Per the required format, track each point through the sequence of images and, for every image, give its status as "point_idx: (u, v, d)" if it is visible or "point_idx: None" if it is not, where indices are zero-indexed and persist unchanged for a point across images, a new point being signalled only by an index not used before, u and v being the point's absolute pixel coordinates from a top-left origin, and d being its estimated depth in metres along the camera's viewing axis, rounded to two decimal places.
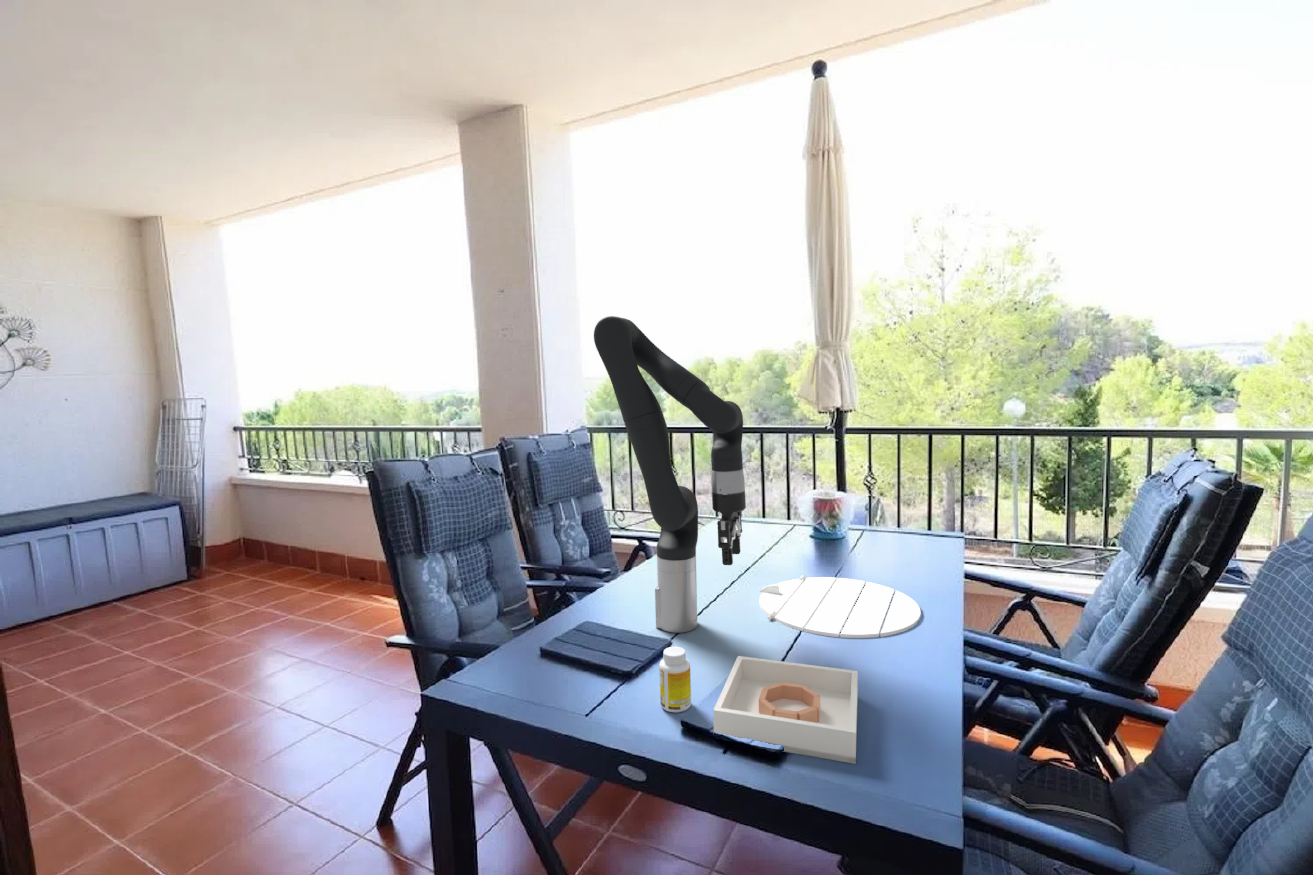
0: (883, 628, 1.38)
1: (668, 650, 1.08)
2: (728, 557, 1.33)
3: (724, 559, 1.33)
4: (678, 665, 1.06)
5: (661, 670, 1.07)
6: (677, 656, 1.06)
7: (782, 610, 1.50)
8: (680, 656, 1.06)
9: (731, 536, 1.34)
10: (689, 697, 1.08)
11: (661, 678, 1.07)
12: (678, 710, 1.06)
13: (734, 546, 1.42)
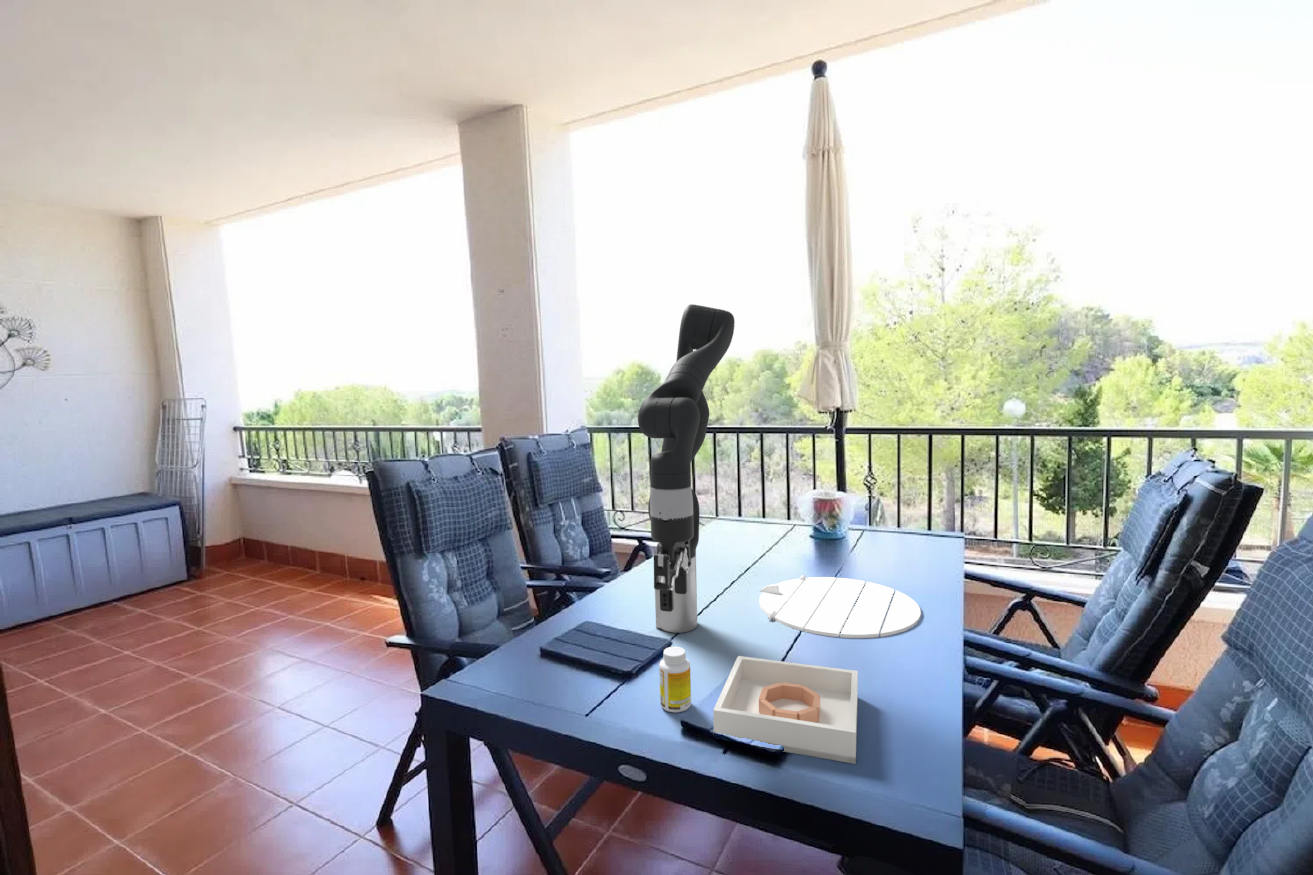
0: (883, 628, 1.38)
1: (668, 650, 1.08)
2: (667, 601, 1.02)
3: (662, 604, 1.02)
4: (678, 665, 1.06)
5: (661, 670, 1.07)
6: (677, 656, 1.06)
7: (782, 610, 1.50)
8: (680, 656, 1.06)
9: (672, 574, 1.02)
10: (689, 697, 1.08)
11: (661, 678, 1.07)
12: (678, 710, 1.06)
13: (680, 584, 1.11)
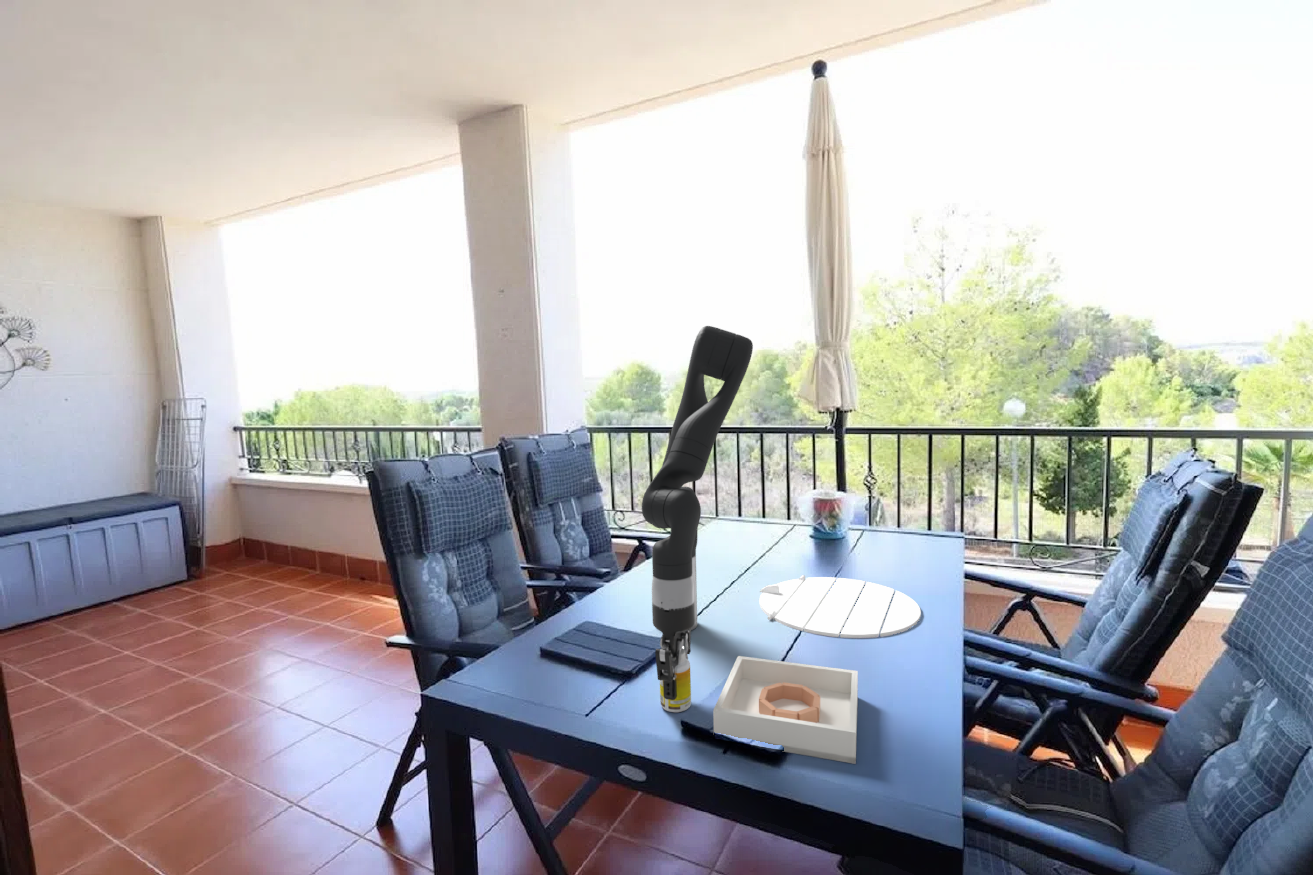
0: (883, 628, 1.38)
1: None
2: (670, 691, 1.04)
3: (665, 692, 1.05)
4: None
5: None
6: None
7: (782, 610, 1.50)
8: None
9: (675, 664, 1.05)
10: (689, 697, 1.08)
11: None
12: (678, 710, 1.06)
13: None
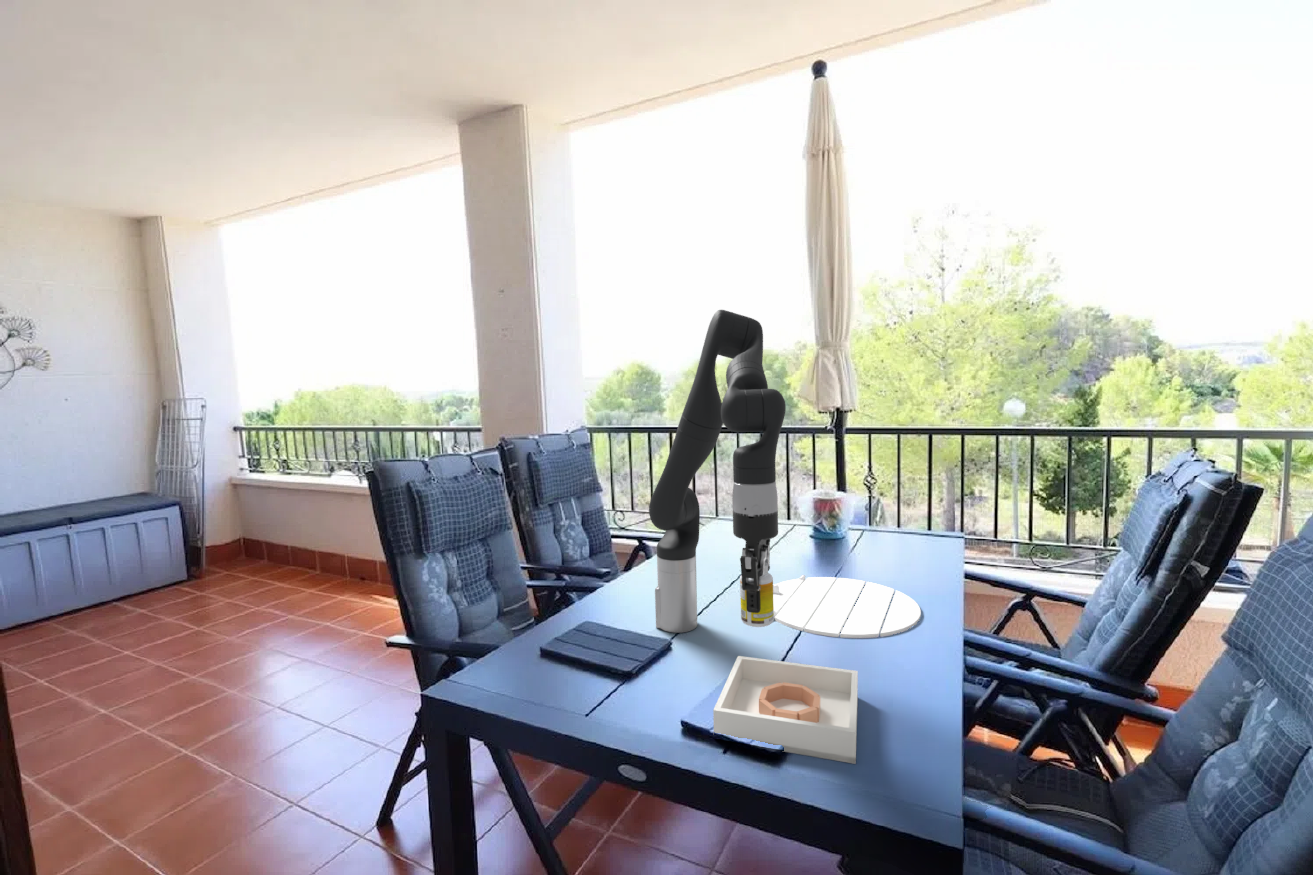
0: (883, 628, 1.38)
1: None
2: (755, 602, 0.99)
3: (749, 605, 1.00)
4: (761, 577, 1.01)
5: None
6: None
7: (782, 610, 1.50)
8: None
9: (759, 574, 0.99)
10: (772, 612, 1.02)
11: (743, 591, 1.02)
12: (762, 624, 1.01)
13: None
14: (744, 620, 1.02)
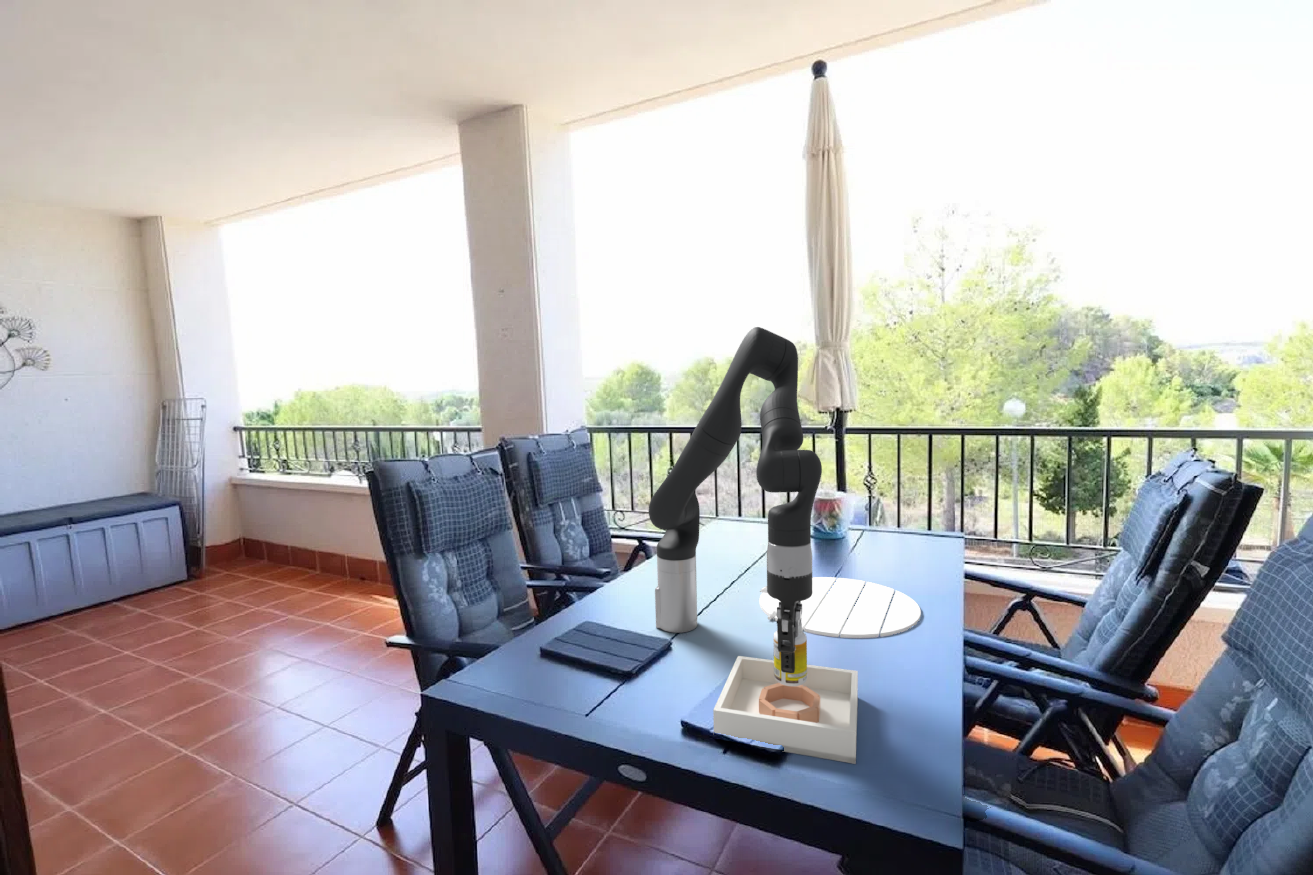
0: (883, 628, 1.38)
1: None
2: (790, 663, 0.99)
3: (784, 665, 1.00)
4: (796, 637, 1.01)
5: (777, 642, 1.02)
6: None
7: None
8: None
9: (794, 635, 0.99)
10: (806, 670, 1.02)
11: (777, 650, 1.02)
12: (796, 684, 1.01)
13: None
14: (778, 679, 1.02)
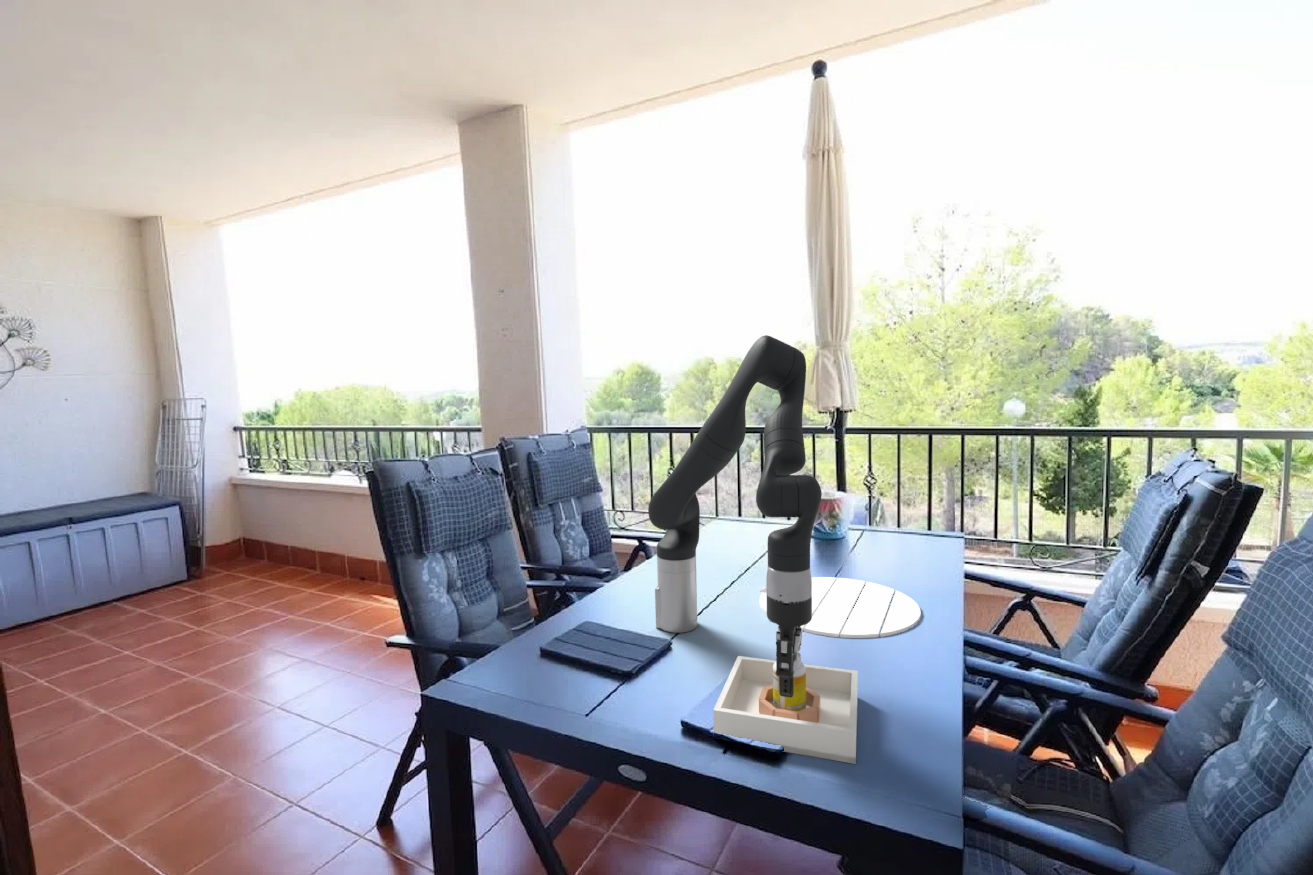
0: (883, 628, 1.38)
1: None
2: (788, 687, 0.98)
3: (782, 689, 0.99)
4: (795, 669, 1.02)
5: None
6: None
7: None
8: None
9: (793, 659, 0.99)
10: (805, 702, 1.03)
11: (776, 682, 1.03)
12: None
13: None
14: None
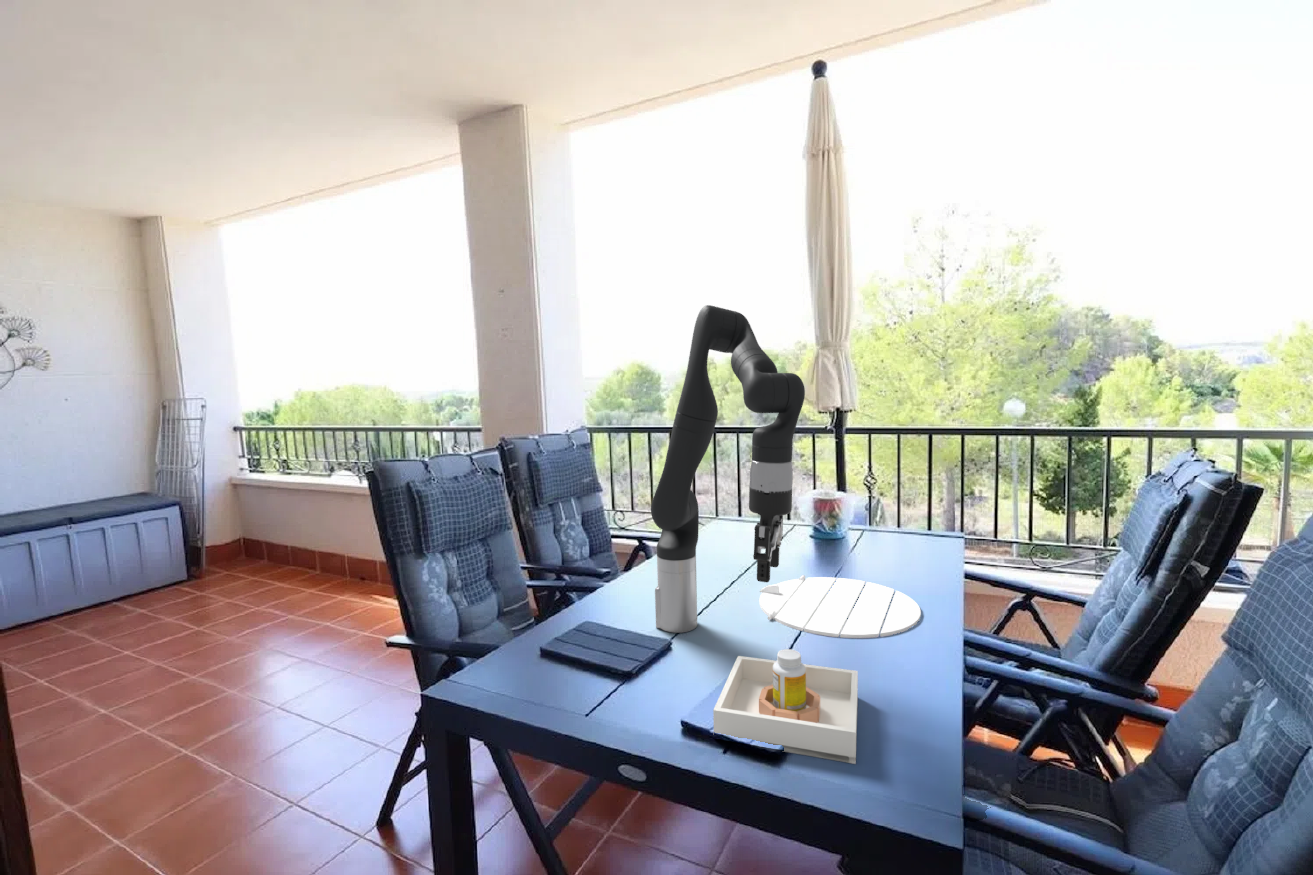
0: (883, 628, 1.38)
1: (782, 653, 1.04)
2: (765, 572, 1.04)
3: (759, 574, 1.04)
4: (795, 669, 1.02)
5: (776, 674, 1.02)
6: (794, 660, 1.02)
7: (782, 610, 1.50)
8: (797, 659, 1.02)
9: (771, 546, 1.05)
10: (805, 702, 1.03)
11: (776, 682, 1.03)
12: None
13: (772, 557, 1.13)
14: None
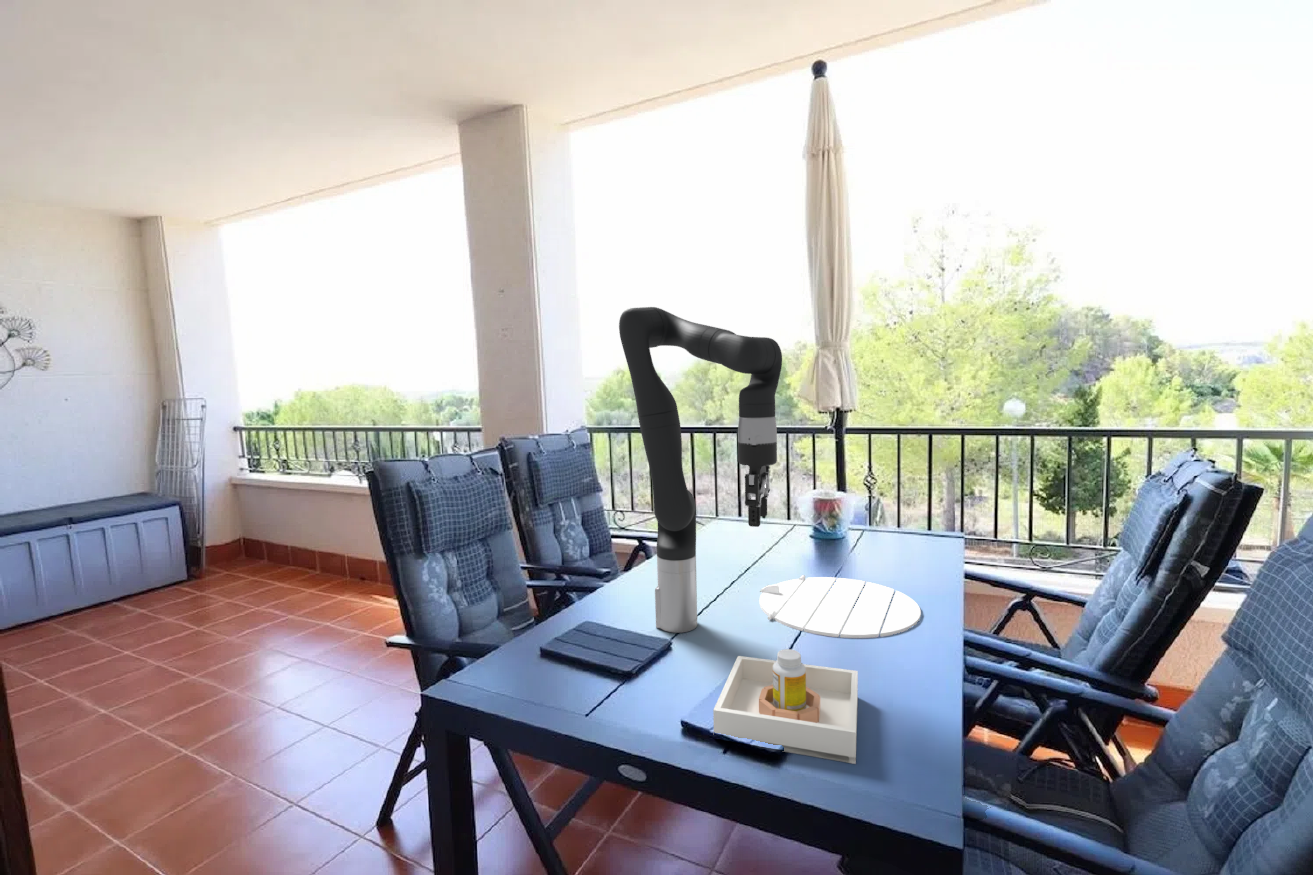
0: (883, 628, 1.38)
1: (782, 653, 1.04)
2: (755, 517, 1.15)
3: (751, 519, 1.15)
4: (795, 669, 1.02)
5: (776, 674, 1.02)
6: (794, 660, 1.02)
7: (782, 610, 1.50)
8: (797, 659, 1.02)
9: (760, 493, 1.15)
10: (805, 702, 1.03)
11: (776, 682, 1.03)
12: None
13: (761, 507, 1.24)
14: None
